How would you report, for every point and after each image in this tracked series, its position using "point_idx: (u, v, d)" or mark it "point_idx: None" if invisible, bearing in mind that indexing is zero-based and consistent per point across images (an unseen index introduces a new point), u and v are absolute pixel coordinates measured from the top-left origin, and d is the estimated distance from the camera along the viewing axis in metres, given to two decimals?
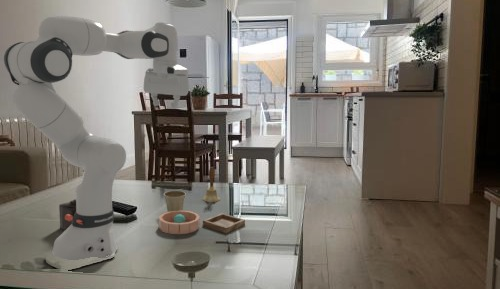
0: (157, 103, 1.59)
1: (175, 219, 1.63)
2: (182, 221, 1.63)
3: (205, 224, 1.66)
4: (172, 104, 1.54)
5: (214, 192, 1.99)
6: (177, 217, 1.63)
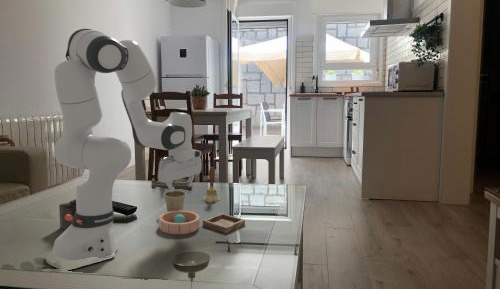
0: None
1: (175, 219, 1.63)
2: (182, 221, 1.63)
3: (205, 224, 1.66)
4: (190, 183, 1.66)
5: (214, 192, 1.99)
6: (177, 217, 1.63)
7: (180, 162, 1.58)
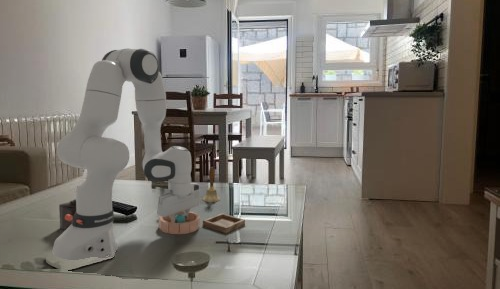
0: None
1: None
2: (182, 221, 1.63)
3: (205, 224, 1.66)
4: (186, 217, 1.66)
5: (214, 192, 1.99)
6: (177, 217, 1.63)
7: (179, 196, 1.60)
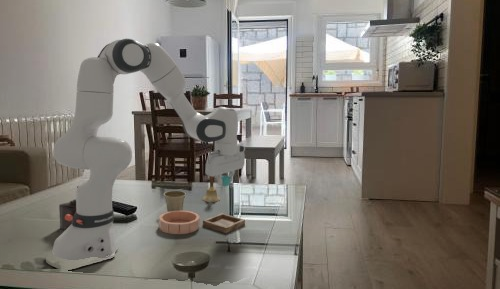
0: None
1: None
2: (228, 182, 1.64)
3: (205, 224, 1.66)
4: (231, 179, 1.67)
5: (214, 192, 1.99)
6: (223, 178, 1.64)
7: (226, 156, 1.61)
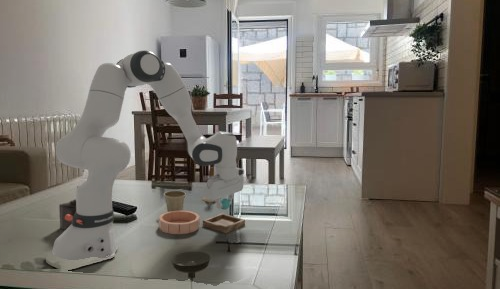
0: None
1: None
2: (227, 205, 1.66)
3: (205, 224, 1.66)
4: (230, 202, 1.69)
5: None
6: (222, 201, 1.66)
7: (226, 180, 1.63)
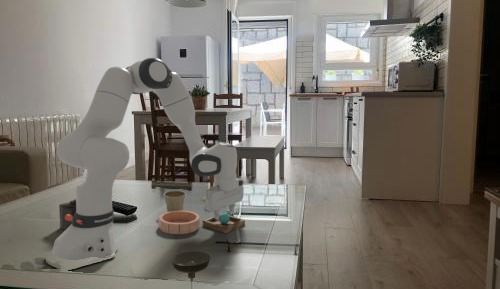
0: None
1: None
2: (227, 219, 1.67)
3: (205, 224, 1.66)
4: (231, 212, 1.70)
5: None
6: (222, 215, 1.67)
7: (225, 191, 1.63)
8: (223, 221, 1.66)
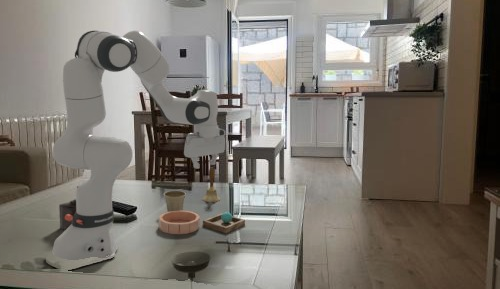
0: None
1: (225, 213, 1.68)
2: (230, 218, 1.68)
3: (205, 224, 1.66)
4: (214, 162, 1.70)
5: (214, 192, 1.99)
6: (227, 212, 1.69)
7: (205, 139, 1.62)
8: (226, 217, 1.67)
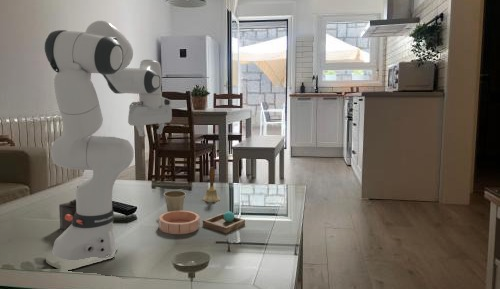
0: None
1: (229, 211, 1.70)
2: (232, 217, 1.69)
3: (205, 224, 1.66)
4: (160, 131, 1.75)
5: (214, 192, 1.99)
6: (231, 212, 1.71)
7: (150, 108, 1.67)
8: (229, 214, 1.69)
